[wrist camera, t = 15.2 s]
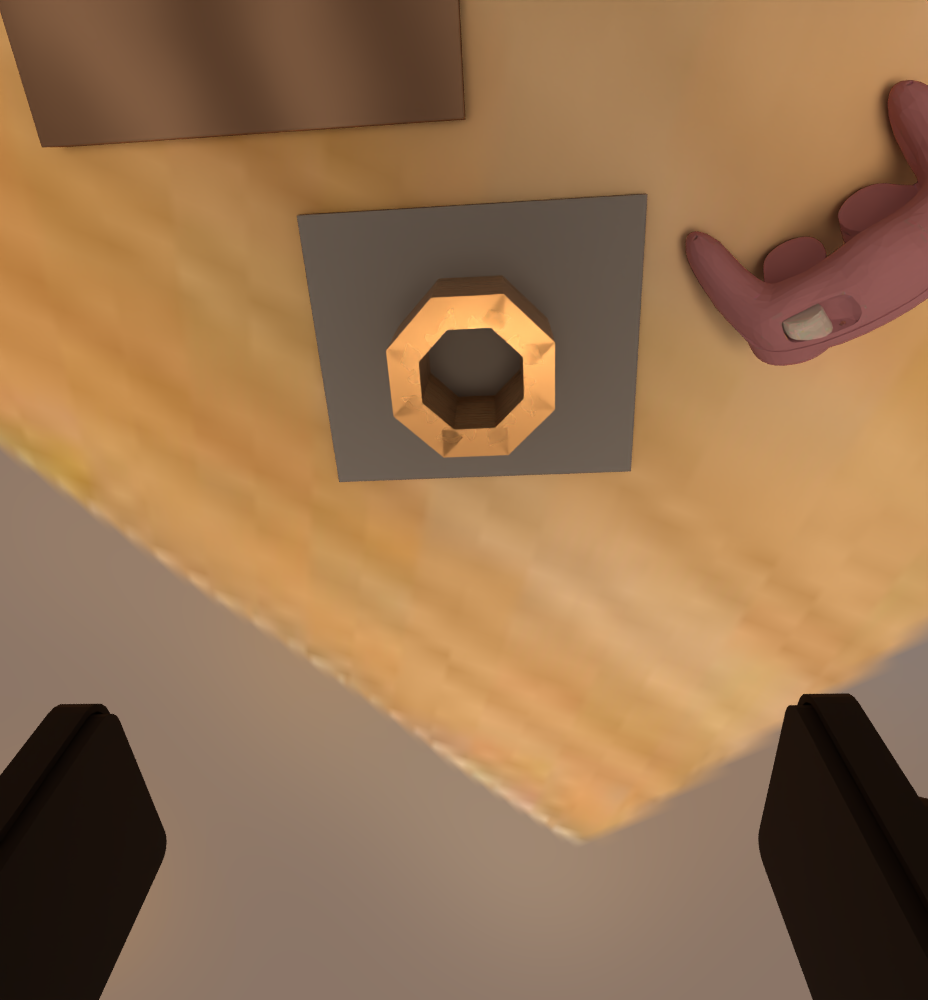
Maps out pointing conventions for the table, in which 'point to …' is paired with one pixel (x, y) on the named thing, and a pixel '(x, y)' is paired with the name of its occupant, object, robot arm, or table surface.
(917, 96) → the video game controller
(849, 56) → the table surface
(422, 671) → the table surface
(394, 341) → the wooden ring
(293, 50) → the post stand
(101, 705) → the robot arm
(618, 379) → the rubber mat
